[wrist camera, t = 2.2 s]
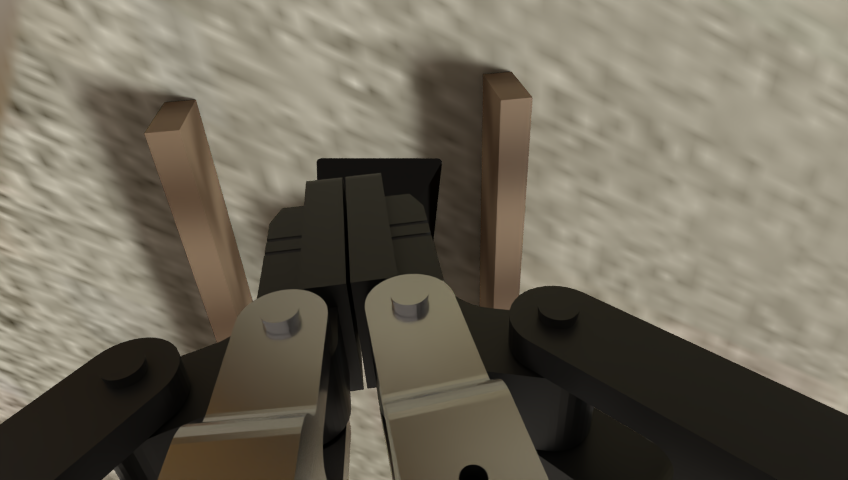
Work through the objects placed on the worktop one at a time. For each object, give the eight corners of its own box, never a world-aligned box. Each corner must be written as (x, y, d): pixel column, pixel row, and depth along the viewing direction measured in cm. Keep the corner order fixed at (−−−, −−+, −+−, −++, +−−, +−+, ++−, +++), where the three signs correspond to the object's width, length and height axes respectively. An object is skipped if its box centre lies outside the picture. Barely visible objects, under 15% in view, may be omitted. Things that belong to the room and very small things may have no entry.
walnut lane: (164, 102, 22) (144, 133, 20) (511, 71, 24) (532, 97, 21) (259, 402, 33) (253, 447, 30) (498, 370, 34) (511, 411, 31)
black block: (434, 329, 32) (447, 393, 29) (303, 333, 31) (299, 401, 27) (459, 123, 25) (482, 173, 21) (291, 119, 24) (283, 171, 20)
